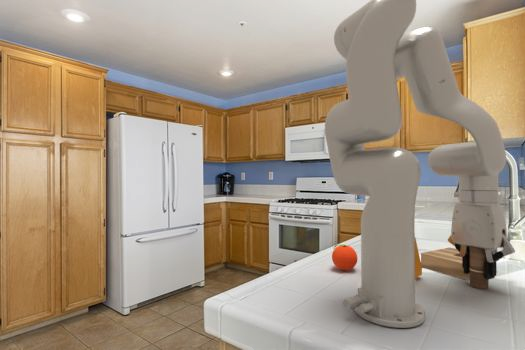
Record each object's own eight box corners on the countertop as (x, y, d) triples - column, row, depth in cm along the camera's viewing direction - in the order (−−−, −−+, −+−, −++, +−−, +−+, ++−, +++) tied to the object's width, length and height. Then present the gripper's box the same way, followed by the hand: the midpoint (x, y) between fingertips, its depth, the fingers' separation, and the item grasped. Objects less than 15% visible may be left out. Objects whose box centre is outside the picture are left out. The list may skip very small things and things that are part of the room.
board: (465, 279, 74) (465, 263, 74) (420, 267, 85) (420, 253, 85) (494, 271, 81) (494, 256, 81) (449, 260, 91) (449, 247, 91)
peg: (483, 290, 67) (483, 246, 67) (465, 285, 71) (465, 243, 71) (492, 287, 69) (492, 244, 69) (474, 282, 72) (474, 241, 72)
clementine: (324, 267, 85) (324, 242, 85) (341, 263, 88) (341, 240, 88) (344, 275, 78) (344, 248, 78) (363, 271, 82) (362, 245, 82)
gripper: (434, 196, 76) (434, 268, 76) (513, 201, 61) (513, 290, 61) (451, 195, 79) (452, 264, 79) (530, 199, 64) (531, 284, 64)
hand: (478, 274), depth 70 cm, fingers closed on peg, 3 cm apart
